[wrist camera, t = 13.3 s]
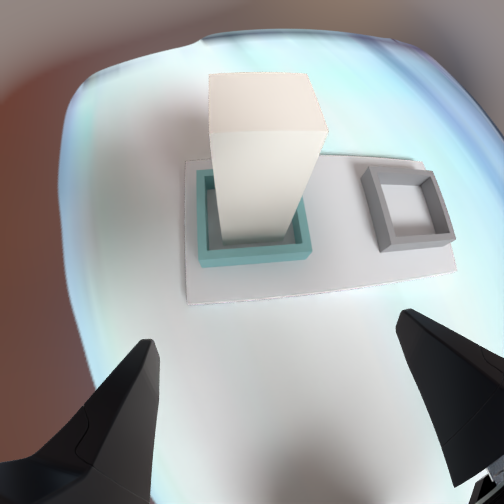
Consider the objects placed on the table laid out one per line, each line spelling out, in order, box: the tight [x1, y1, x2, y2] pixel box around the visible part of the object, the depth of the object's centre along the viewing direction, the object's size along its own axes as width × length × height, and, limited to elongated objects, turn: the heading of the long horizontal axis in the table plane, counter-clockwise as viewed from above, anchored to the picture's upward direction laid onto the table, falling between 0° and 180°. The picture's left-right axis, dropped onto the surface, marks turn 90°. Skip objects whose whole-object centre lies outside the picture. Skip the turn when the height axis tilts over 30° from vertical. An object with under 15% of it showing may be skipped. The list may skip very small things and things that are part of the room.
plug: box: [209, 72, 329, 246], centre depth 16 cm, size 5×4×12 cm
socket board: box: [185, 155, 457, 305], centre depth 21 cm, size 24×12×3 cm, turn 96°
